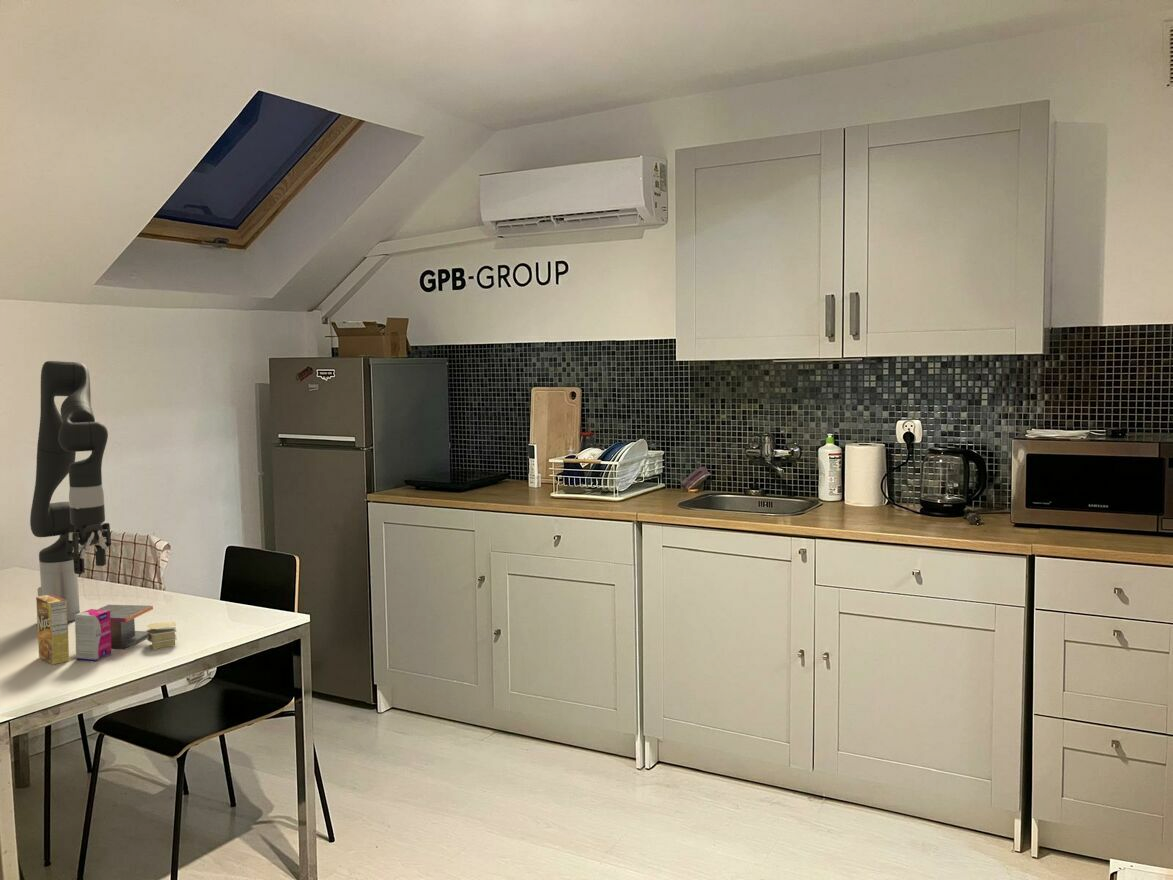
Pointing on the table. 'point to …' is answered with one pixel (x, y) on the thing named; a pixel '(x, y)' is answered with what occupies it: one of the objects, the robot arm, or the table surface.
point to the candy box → (52, 629)
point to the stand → (125, 625)
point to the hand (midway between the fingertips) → (90, 569)
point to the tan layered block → (161, 634)
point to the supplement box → (93, 635)
